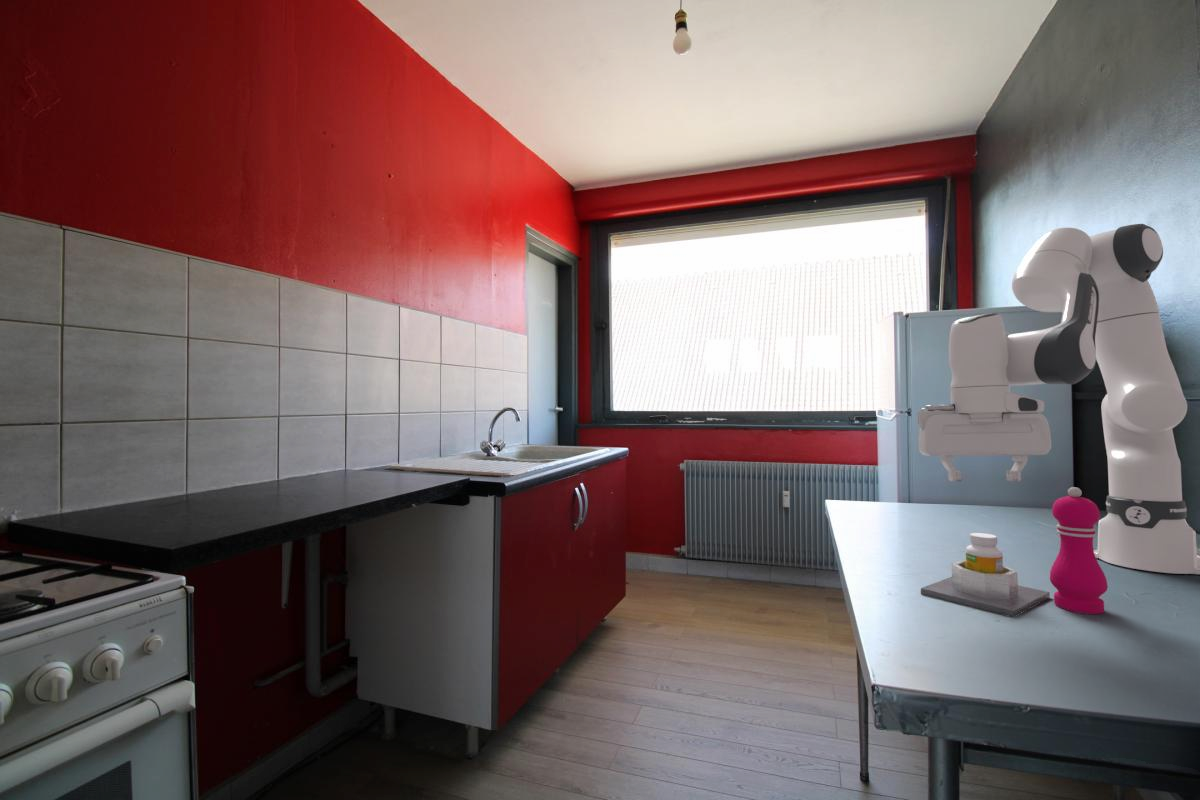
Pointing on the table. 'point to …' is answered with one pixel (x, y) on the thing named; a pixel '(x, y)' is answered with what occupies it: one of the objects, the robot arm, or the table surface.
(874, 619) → the table surface
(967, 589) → the collar
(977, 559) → the supplement bottle
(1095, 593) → the pepper mill
